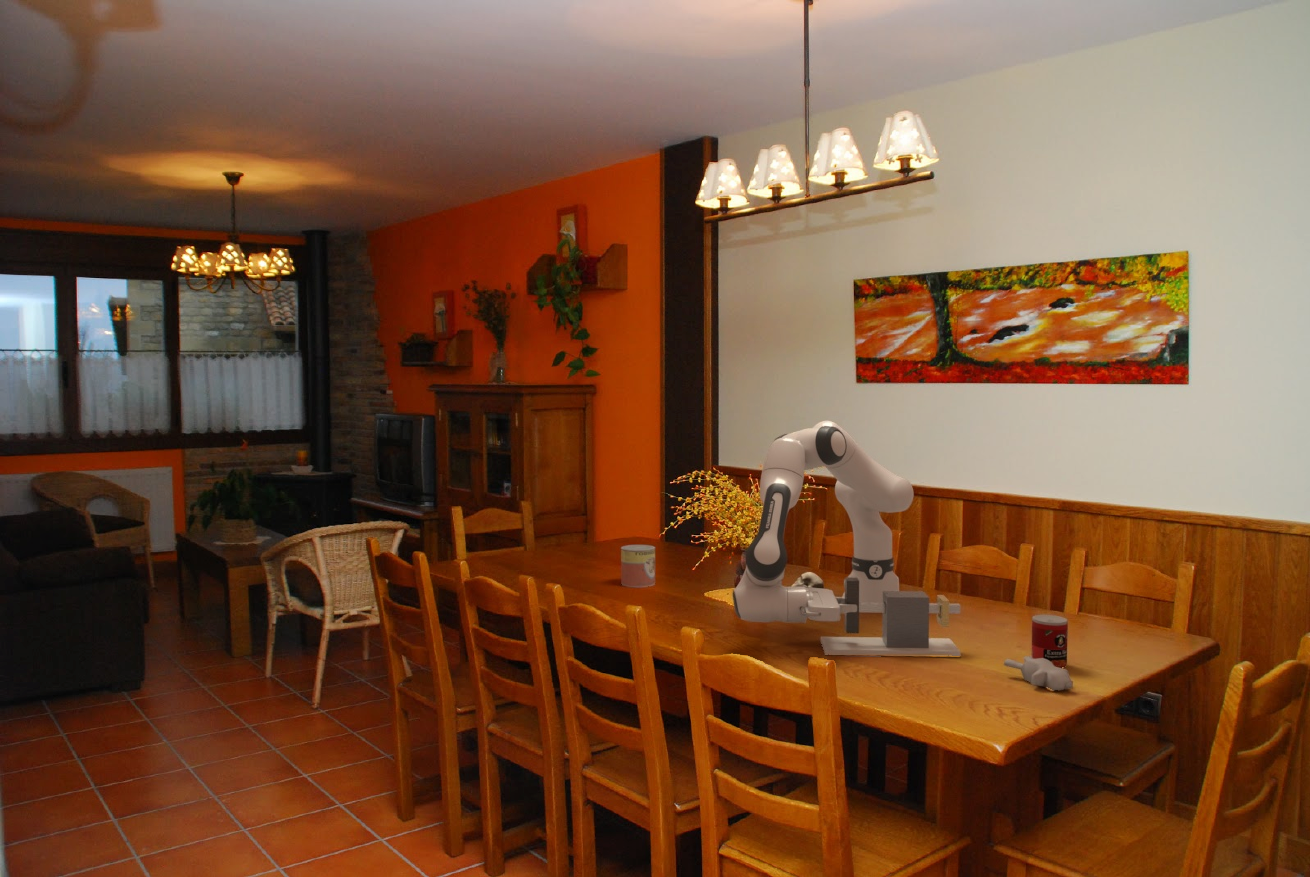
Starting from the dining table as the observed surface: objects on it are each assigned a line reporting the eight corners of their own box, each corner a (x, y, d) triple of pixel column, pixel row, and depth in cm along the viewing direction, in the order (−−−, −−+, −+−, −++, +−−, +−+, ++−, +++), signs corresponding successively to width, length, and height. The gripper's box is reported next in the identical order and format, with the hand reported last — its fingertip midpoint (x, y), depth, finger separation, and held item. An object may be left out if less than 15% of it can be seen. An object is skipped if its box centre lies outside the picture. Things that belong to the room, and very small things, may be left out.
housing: (882, 646, 247) (882, 590, 246) (923, 646, 246) (923, 591, 245) (886, 653, 240) (887, 597, 239) (928, 654, 239) (929, 597, 238)
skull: (783, 597, 298) (786, 568, 304) (788, 614, 306) (790, 585, 312) (823, 598, 295) (825, 568, 301) (827, 615, 302) (828, 586, 309)
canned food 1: (643, 588, 316) (643, 551, 316) (614, 585, 322) (614, 548, 322) (661, 582, 326) (661, 546, 325) (633, 579, 332) (632, 543, 331)
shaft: (844, 629, 246) (844, 577, 245) (957, 630, 244) (958, 578, 243) (846, 633, 242) (846, 580, 241) (961, 634, 240) (961, 581, 239)
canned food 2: (1045, 671, 225) (1046, 623, 224) (1023, 661, 232) (1024, 615, 232) (1074, 668, 227) (1075, 621, 226) (1051, 659, 234) (1052, 613, 234)
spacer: (936, 620, 245) (936, 595, 245) (943, 620, 245) (943, 595, 245) (942, 626, 239) (942, 600, 238) (948, 627, 239) (949, 600, 238)
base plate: (820, 642, 250) (820, 636, 250) (949, 644, 248) (949, 638, 248) (825, 655, 238) (825, 649, 238) (960, 657, 236) (960, 651, 236)
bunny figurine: (1049, 677, 207) (1000, 651, 221) (1046, 700, 208) (998, 673, 222) (1084, 672, 210) (1033, 647, 224) (1081, 695, 211) (1031, 668, 225)
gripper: (801, 601, 234) (861, 602, 233) (796, 583, 254) (850, 584, 253) (801, 627, 234) (860, 628, 233) (796, 607, 254) (850, 608, 253)
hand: (855, 605), depth 243 cm, fingers closed on shaft, 4 cm apart
